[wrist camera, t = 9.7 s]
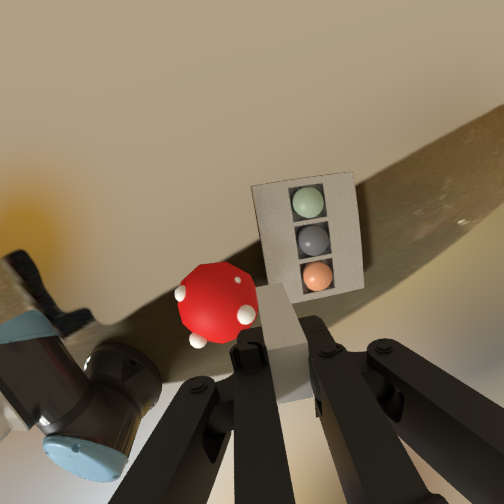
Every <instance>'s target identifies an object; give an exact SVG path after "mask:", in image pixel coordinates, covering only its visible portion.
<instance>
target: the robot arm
mask: <svg viewBox="0 0 504 504" xmlns="http://www.w3.org/2000/svg"><path fill="white" fill-rule="evenodd" d="M255 288H256V294H257V300H258V306H259V312H260V318H261V324H262V326H261V327H255V328H249V329H243V330H241V331H240V332H239V334H238V335H237V344H235V345H234V346H233V347H232V348H231V349H230V352H229V353H230V357H231V361H232V365H233V369H234V373H233V374H232V375H231V376H229V377H228V378H226V379H223V380H221V381H218V382H214V379H212V378H210V377H207V376H196V377H193V378H190V379H188V380H187V381H185V382H184V383H183V384H182V385H181V387H180V388H179V390H178V392H177V393H176V395H175V396H174V398H173V400H172V401H171V403H170V405H169V406H168V408H167V409H166V411H165V413H164V414H163V416H162V418H161V419H160V421H159V423H158V424H157V426H156V427H155V429H154V431H153V432H152V434H151V435H150V437H149V438H148V440H147V442H146V443H145V445H144V447H143V448H142V450H141V451H140V453H139V455H138V456H137V458H136V460H135V461H134V463H133V464H132V466H131V467H130V469H129V471H128V472H127V474H126V476H125V477H124V479H123V480H122V482H121V483H120V485H119V487H118V488H117V490H116V491H115V493H114V494H113V496H112V498H111V499H110V501H109V502H108V504H206V503H207V501H208V498H209V495H210V493H211V490H212V487H213V485H214V482H215V479H216V476H217V473H218V471H219V468H220V465H221V462H222V459H223V457H224V454H225V451H226V448H227V445H228V442H229V439H230V436H231V431H232V430H234V491H235V492H234V495H235V504H295V498H294V493H293V488H292V482H291V477H290V472H289V466H288V461H287V455H286V450H285V444H284V439H283V433H282V428H281V423H280V417H279V412H278V406H277V404H280V403H286V402H291V401H296V400H300V399H305V398H310V397H313V394H312V390H313V393H314V396H315V410H316V417H319V418H320V421H321V424H322V427H323V430H324V433H325V436H326V439H327V442H328V445H329V449H330V452H331V455H332V458H333V461H334V464H335V467H336V470H337V473H338V476H339V479H340V483H341V486H342V489H343V492H344V495H345V498H346V501H347V504H449V503H448V502H447V501H446V499H445V498H444V497H443V496H441V495H440V494H432V493H431V492H429V490H428V489H427V487H426V486H425V484H424V482H423V480H422V478H421V476H420V475H419V473H418V471H417V470H416V467H415V466H414V464H413V462H412V461H411V459H410V457H409V455H408V453H407V451H406V450H405V448H404V446H403V445H402V443H401V441H400V439H399V438H398V436H399V437H400V438H401V439H402V440H403V441H404V442H405V443H406V444H407V445H408V446H410V447H411V448H412V449H413V450H414V451H415V452H416V453H417V454H418V455H419V456H420V457H421V458H422V459H424V460H425V461H426V462H427V463H428V464H429V465H430V466H431V467H432V468H433V469H434V470H435V471H437V472H438V473H439V474H440V475H441V476H442V477H443V478H444V479H445V480H446V481H447V482H449V483H450V484H451V485H452V486H453V487H454V488H455V489H456V490H458V491H459V492H460V493H461V494H462V495H463V496H464V497H465V498H466V499H468V500H469V501H470V502H471V503H472V504H504V408H502V407H501V406H499V405H498V404H496V403H494V402H493V401H491V400H490V399H488V398H486V397H485V396H483V395H482V394H480V393H479V392H477V391H475V390H474V389H472V388H471V387H469V386H468V385H466V384H464V383H463V382H461V381H460V380H458V379H456V378H455V377H453V376H452V375H450V374H448V373H447V372H445V371H444V370H442V369H441V368H439V367H437V366H436V365H434V364H433V363H431V362H429V361H428V360H426V359H425V358H423V357H421V356H420V355H418V354H417V353H415V352H413V351H412V350H410V349H409V348H407V347H405V346H404V345H402V344H401V343H399V342H397V341H395V340H393V339H386V338H384V339H378V340H375V341H373V342H371V343H370V344H369V345H368V347H367V351H366V352H349V351H347V350H346V348H345V347H344V346H343V345H341V344H338V343H336V342H335V341H334V339H333V337H332V336H331V334H330V332H329V330H328V329H327V327H326V325H325V324H324V322H323V320H322V319H321V318H319V317H317V316H315V315H313V316H308V317H303V318H297V316H296V314H295V311H294V309H293V307H292V305H291V302H290V300H289V298H288V295H287V293H286V291H285V288H284V286H283V284H282V283H277V284H271V285H266V286H260V287H255ZM161 391H162V381H161V377H160V375H159V372H158V371H157V369H156V367H155V366H154V365H153V364H152V362H151V361H150V360H149V359H148V358H146V357H145V356H144V355H143V354H141V353H140V352H138V351H137V350H135V349H133V348H131V347H128V346H126V345H122V344H117V343H107V344H103V345H100V346H98V347H96V348H95V349H94V350H93V351H92V353H91V354H90V355H89V357H88V358H87V360H86V363H85V367H84V372H83V371H82V370H81V368H80V367H79V366H78V364H77V363H76V362H75V360H74V359H73V357H72V356H71V354H70V353H69V351H68V350H67V348H66V347H65V345H64V344H63V342H62V341H61V339H60V338H59V336H58V333H57V332H56V331H54V329H53V328H52V326H51V325H50V324H49V322H48V321H47V319H46V317H45V316H44V315H43V314H42V313H41V312H39V311H37V310H30V311H27V312H25V313H23V314H21V315H18V316H16V317H14V318H12V319H10V320H8V321H6V322H4V323H2V324H1V325H0V442H1V441H2V440H3V439H4V438H5V437H6V436H7V435H8V434H9V433H10V432H11V431H12V430H21V431H28V430H30V429H31V428H32V427H33V426H34V425H35V424H36V426H37V427H38V428H39V429H40V430H41V431H42V432H43V433H44V434H45V436H46V437H45V438H44V439H43V448H44V450H45V452H46V454H47V455H48V457H49V458H50V459H51V460H53V461H54V462H55V463H56V464H57V465H59V466H60V467H62V468H63V469H65V470H67V471H69V472H71V473H72V474H74V475H77V476H79V477H82V478H84V479H88V480H92V481H96V482H112V481H115V480H117V479H118V478H119V477H120V476H121V474H122V472H123V469H124V467H125V465H126V464H127V463H128V458H129V455H130V451H131V448H132V445H133V442H134V439H135V436H136V433H137V430H138V427H139V424H140V421H141V419H142V418H143V416H145V415H146V413H147V412H148V411H149V410H150V409H152V408H153V407H154V406H155V405H156V403H157V402H158V400H159V397H160V394H161ZM397 435H398V436H397Z"/></svg>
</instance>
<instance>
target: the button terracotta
mask: <svg viewBox="0 0 504 504" xmlns="http://www.w3.org/2000/svg"><path fill="white" fill-rule="evenodd" d="M302 279H303V281H304V282H305V284H306V285H307V287H308V288H310V289H311V290H313V291H321V290H324V289H325V288H327V287H328V286H329V285H330V283H331V281H332V271H331V269H330V268H329V267H328V266H327V265H326V264H325V263H324V262H322V261H320V260H318V261H313V262H307V263H306V264H305V265H304V267H303V269H302Z"/></svg>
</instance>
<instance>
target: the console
mask: <svg viewBox="0 0 504 504" xmlns="http://www.w3.org/2000/svg"><path fill="white" fill-rule="evenodd" d="M303 187H308V188H314V189H316V190H318V191H319V192H320V193H321V195H322V197H323V200H324V205H323V209H322V211H321V212H320V213H319V214H318V215H317V216H315V217H312V218H306V217H303V216H301V215H299V214H297V213H296V212H295V211H294V210H293V208H292V205H291V199H292V196H293V194H294V192H295V191H296V190H298V189H300V188H303ZM251 191H252V197H253V202H254V208H255V213H256V219H257V225H258V231H259V237H260V243H261V248H262V254H263V260H264V266H265V272H266V278H267V284H268V285H271V284H277V283H282V284H283V286H284V288H285V291H286V293H287V295H288V298H289V300H290V302H291V304H292V303H297V302H302V301H307V300H312V299H317V298H321V297H326V296H330V295H335V294H340V293H344V292H348V291H353V290H357V289H361V288H364V277H363V260H362V247H361V235H360V225H359V215H358V207H357V199H356V191H355V184H354V177H353V172H344V173H337V174H328V175H320V176H313V177H306V178H299V179H292V180H285V181H279V182H273V183H266V184H261V185H254V186H251ZM308 224H314V225H317V226H319V227H320V228H322V229H324V230H325V231H326V233H327V235H328V239H329V242H328V246H327V248H326V250H325V251H324V252H323V253H321V254H319V255H316V256H311V255H308V254H306V253H305V252H304V251H303V250H302V249H301V248H300V247H299V245H298V243H297V234H298V232H299V230H300V229H301V228H302V227H303V226H305V225H308ZM318 260H320V261H322V262H324V263H325V264H326V265H327V266H328V267H329V268H330V269H331V271H332V281H331V283H330V285H329V286H328V287H327V288H325V289H324V290H321V291H313V290H311V289H310V288H308V287H307V285H306V284H305V282H304V281H303V279H302V269H303V267H304V265H305V264H306V263H307V262H313V261H318Z"/></svg>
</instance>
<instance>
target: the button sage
mask: <svg viewBox="0 0 504 504" xmlns="http://www.w3.org/2000/svg"><path fill="white" fill-rule="evenodd" d="M291 205H292V208H293V210H294V211H295V212H296V213H297V214H299V215H301V216H303V217H306V218H312V217H315V216H317V215H318V214H319V213H320V212H321V211H322V209H323V205H324V200H323V197H322V195H321V193H320V192H319V191H318V190H316V189H314V188H308V187H303V188H300V189H298V190H296V191H295V192H294V194H293V196H292V199H291Z"/></svg>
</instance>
